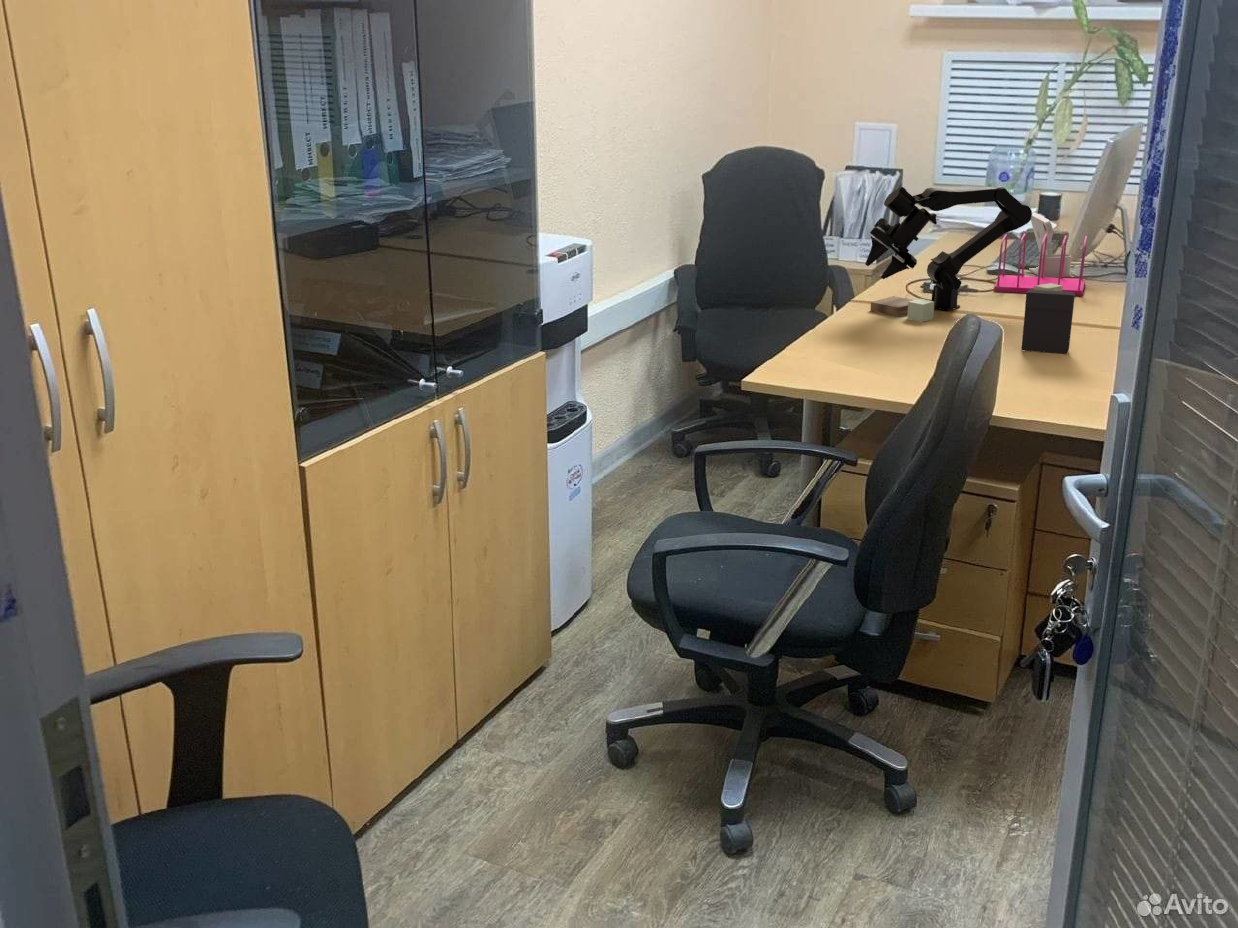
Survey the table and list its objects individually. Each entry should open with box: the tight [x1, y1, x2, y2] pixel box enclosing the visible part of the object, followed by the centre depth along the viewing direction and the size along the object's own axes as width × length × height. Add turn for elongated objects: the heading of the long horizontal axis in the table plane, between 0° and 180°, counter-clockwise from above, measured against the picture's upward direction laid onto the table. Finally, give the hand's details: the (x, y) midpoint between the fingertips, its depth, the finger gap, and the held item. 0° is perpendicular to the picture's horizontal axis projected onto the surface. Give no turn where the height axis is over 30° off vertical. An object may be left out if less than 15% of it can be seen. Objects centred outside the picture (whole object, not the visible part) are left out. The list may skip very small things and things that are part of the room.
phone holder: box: [1028, 212, 1072, 278], centre depth 368 cm, size 17×10×18 cm, turn 179°
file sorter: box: [993, 233, 1088, 297], centre depth 348 cm, size 17×25×16 cm
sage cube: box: [906, 298, 935, 323], centre depth 320 cm, size 5×5×5 cm
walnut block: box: [870, 296, 914, 317], centre depth 330 cm, size 10×10×3 cm
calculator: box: [1021, 290, 1076, 355], centre depth 284 cm, size 11×4×15 cm, turn 65°
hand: (874, 272), depth 326 cm, fingers open, 9 cm apart
